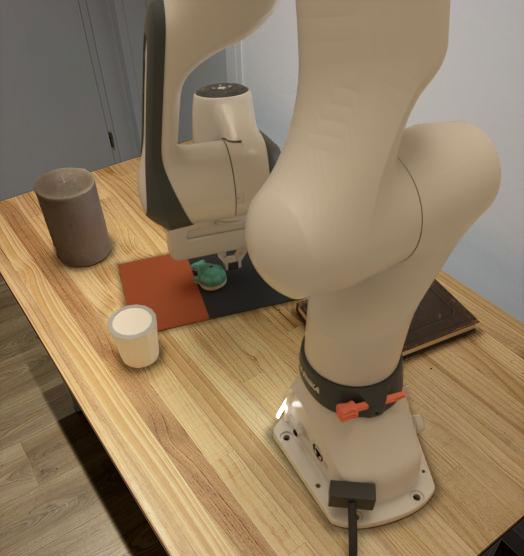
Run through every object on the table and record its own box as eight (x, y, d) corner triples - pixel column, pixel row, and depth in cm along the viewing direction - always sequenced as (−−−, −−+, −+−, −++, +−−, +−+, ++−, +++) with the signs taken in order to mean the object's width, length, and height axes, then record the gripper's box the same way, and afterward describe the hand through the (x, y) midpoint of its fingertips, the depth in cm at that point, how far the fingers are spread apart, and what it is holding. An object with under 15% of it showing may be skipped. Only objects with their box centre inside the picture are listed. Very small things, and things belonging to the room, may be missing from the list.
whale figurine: (204, 298, 90) (202, 281, 88) (182, 274, 94) (180, 257, 92) (234, 285, 93) (233, 267, 90) (212, 262, 97) (210, 244, 94)
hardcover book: (475, 331, 85) (479, 320, 84) (347, 381, 79) (349, 371, 77) (414, 271, 95) (416, 260, 93) (295, 311, 89) (296, 301, 87)
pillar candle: (46, 260, 97) (17, 185, 86) (77, 229, 103) (54, 155, 92) (93, 273, 95) (70, 197, 84) (122, 240, 101) (104, 165, 90)
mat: (304, 297, 91) (304, 297, 91) (134, 336, 85) (133, 335, 85) (269, 234, 102) (269, 233, 102) (117, 265, 97) (117, 264, 96)
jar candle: (122, 376, 80) (112, 344, 75) (113, 344, 84) (102, 311, 79) (168, 363, 81) (162, 330, 76) (156, 331, 86) (149, 298, 80)
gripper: (163, 219, 79) (175, 291, 89) (298, 195, 83) (294, 266, 93) (155, 195, 83) (167, 267, 93) (284, 173, 87) (282, 244, 97)
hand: (232, 267), depth 93 cm, fingers closed
